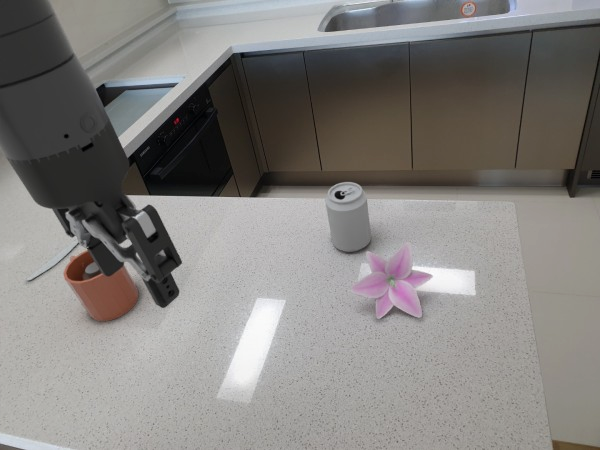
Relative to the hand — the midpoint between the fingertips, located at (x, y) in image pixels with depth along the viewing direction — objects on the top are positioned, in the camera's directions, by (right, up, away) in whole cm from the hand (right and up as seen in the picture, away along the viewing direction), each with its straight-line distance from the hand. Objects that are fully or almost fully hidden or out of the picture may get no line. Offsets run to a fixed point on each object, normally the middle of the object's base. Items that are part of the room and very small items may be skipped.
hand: (140, 284), depth 43 cm
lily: (+30, -7, +32) cm, 45 cm away
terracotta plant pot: (-22, -8, +45) cm, 51 cm away
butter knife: (-36, +2, +62) cm, 72 cm away
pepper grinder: (-20, -9, +43) cm, 49 cm away
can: (+25, +2, +46) cm, 52 cm away
